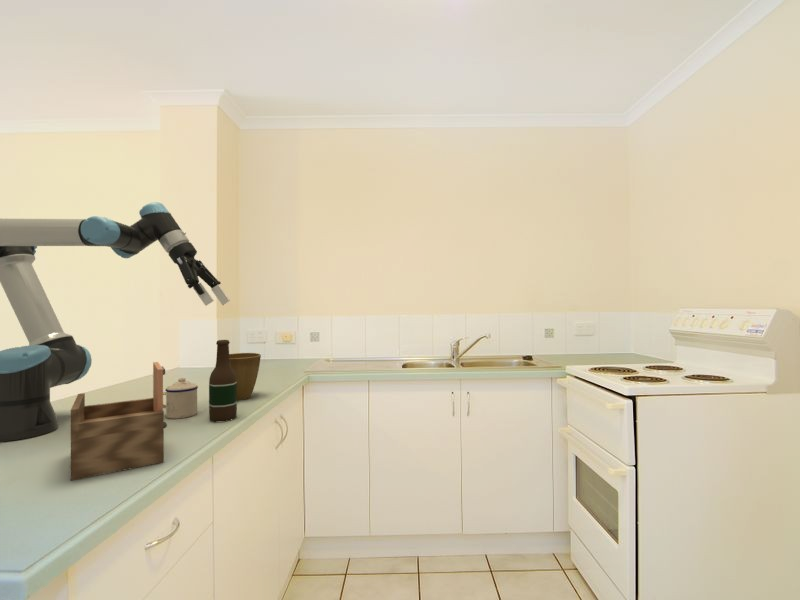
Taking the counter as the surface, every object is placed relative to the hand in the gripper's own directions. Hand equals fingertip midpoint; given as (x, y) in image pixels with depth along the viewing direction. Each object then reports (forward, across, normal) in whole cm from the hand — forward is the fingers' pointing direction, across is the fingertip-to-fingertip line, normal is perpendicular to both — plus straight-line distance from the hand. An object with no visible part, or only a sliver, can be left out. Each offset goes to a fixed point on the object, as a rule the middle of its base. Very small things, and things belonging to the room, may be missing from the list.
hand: (218, 303), depth 128 cm
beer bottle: (+31, -5, +18) cm, 36 cm away
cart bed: (+24, -35, +27) cm, 51 cm away
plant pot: (+29, +23, +21) cm, 43 cm away
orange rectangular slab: (+21, -31, +17) cm, 41 cm away
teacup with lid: (+22, +1, +31) cm, 38 cm away
